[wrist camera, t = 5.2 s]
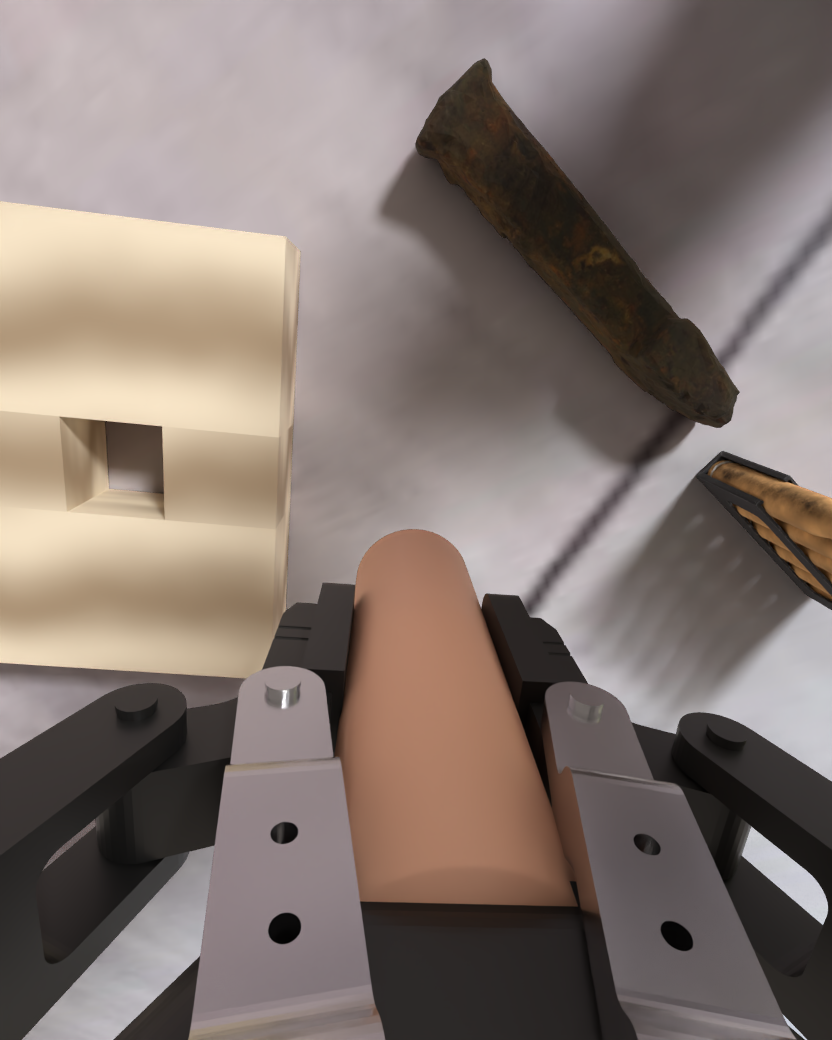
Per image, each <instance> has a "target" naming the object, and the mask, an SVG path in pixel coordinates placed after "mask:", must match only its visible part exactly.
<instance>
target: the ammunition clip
mask: <svg viewBox="0 0 832 1040" xmlns="http://www.w3.org/2000/svg"><path fill="white" fill-rule="evenodd" d="M696 477H697V478H698V479H699V480H700V481H701V482H702V483H703V484H704V485H705V487H706V488H707V489H708V490H709V491H710V492H711V493H712V494H713V495H714V496H715V497H716V498H717V499H718V501H719V502H720V503H721V504H722V505H723V506H724V507H725V508H726V509H727V510H728V511H729V512H730V513H731V514H732V516H733V517H734V518H735V519H736V520H737V521H738V522H739V523H740V524H741V525H742V526H743V527H744V528H745V529H746V531H747V532H748V533H749V534H750V535H751V536H752V537H753V538H754V539H755V540H756V541H757V542H758V543H759V545H760V546H761V547H762V548H763V549H764V550H765V551H766V552H767V553H768V554H769V555H770V556H771V557H772V558H773V560H774V561H775V562H776V563H777V564H778V565H779V566H780V567H781V568H782V569H783V570H784V571H785V572H786V574H787V575H788V576H789V577H790V578H791V579H792V580H793V581H794V582H795V583H796V584H797V585H798V586H799V587H800V589H801V590H802V591H803V592H804V593H805V594H806V595H807V596H809V597H811V598H812V599H814V600H816V601H817V602H819V603H821V604H822V605H824V606H826V607H827V608H829V609H831V610H832V498H829V497H827V496H824V495H821V494H819V493H816V492H813V491H810V490H808V489H805V488H802V487H800V486H798V485H797V483H796V482H795V481H794V480H793V479H792V478H791V477H790V476H789V475H786V474H783V473H781V472H778V471H775V470H773V469H770V468H767V467H765V466H762V465H759V464H757V463H754V462H751V461H748V460H746V459H743V458H740V457H738V456H735V455H732V454H730V453H727V452H724V451H722V452H721V453H720V454H719V455H717V456H716V457H715V458H714V459H713V460H712V461H711V462H710V463H709V464H708V465H707V466H706V467H705V468H704V469H702V470H701V471H700V472H699V473H698V474H697V476H696Z"/></svg>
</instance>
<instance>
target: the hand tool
mask: <svg viewBox="0 0 832 1040" xmlns="http://www.w3.org/2000/svg"><path fill="white" fill-rule="evenodd" d="M416 149H417V151H418V153H419V154H420V155H422V156H424V157H426V158H434V159H437V160H438V162H439V163H440V165H441V168H442V170H443V172H444V175H445V177H446V179H447V180H448V181H449V183H450V184H455V185H459V186H460V187H462V188H463V189H464V191H465V192H466V194H467V196H468V197H469V198H470V199H471V201H472V202H473V203H474V204H475V205H476V206H477V207H478V208H479V210H480V212H481V214H482V215H483V216H484V217H485V219H486V220H488V221H489V222H490V223H491V224H492V225H493V226H494V227H495V229H496V231H497V232H498V233H499V234H500V235H501V236H502V237H503V238H507V239H508V240H509V241H510V242H511V243H512V244H513V246H514V248H516V249H517V250H518V251H519V252H520V254H521V255H522V256H523V258H524V259H525V260H526V262H527V263H528V265H529V266H530V267H531V268H533V269H534V270H535V271H536V272H537V273H538V274H539V275H540V276H541V278H542V279H543V280H544V281H545V282H546V283H547V284H548V285H549V286H550V287H551V288H552V289H553V291H554V292H555V293H556V294H557V295H558V296H559V297H560V298H561V299H562V300H563V301H564V303H565V304H566V305H567V306H568V307H569V308H570V309H571V310H572V311H573V312H574V314H575V315H576V316H577V317H578V319H579V320H580V321H581V322H582V323H583V324H584V325H585V326H586V327H587V328H588V329H589V330H590V331H591V332H592V333H593V335H594V336H595V337H596V338H597V340H598V341H599V342H600V343H601V344H602V345H603V346H604V347H605V348H606V349H607V350H608V352H609V353H610V354H611V356H612V358H613V360H614V363H615V364H616V365H617V366H618V367H619V368H620V369H621V370H622V371H623V372H624V373H625V374H626V375H627V376H628V377H629V378H630V379H631V380H633V381H634V382H635V383H636V384H637V385H638V386H639V387H641V388H642V389H643V390H644V391H645V392H648V393H649V394H650V395H653V396H654V397H655V398H656V399H657V400H659V401H661V402H662V403H665V404H666V406H667V407H669V408H670V409H672V410H675V411H677V412H679V413H681V414H683V415H684V416H686V417H687V418H689V419H691V420H693V421H696V422H698V423H701V424H704V425H709V426H712V427H716V428H721V427H722V426H723V425H725V424H727V423H729V422H730V421H731V418H732V414H733V407H734V404H735V402H736V400H737V395H738V394H739V393H740V392H739V391H738V389H737V388H736V386H735V385H734V384H733V382H732V381H731V379H730V377H729V376H728V374H727V372H726V371H725V369H724V367H723V366H722V365H721V364H720V363H719V361H718V359H717V358H716V356H715V355H714V353H713V351H712V349H711V347H710V345H709V344H708V342H707V340H706V339H705V337H704V336H703V334H702V333H701V331H700V330H699V329H698V328H697V327H696V326H695V325H694V324H693V323H692V322H691V321H690V320H689V319H680V318H679V317H678V316H677V315H676V313H675V312H674V311H673V309H672V307H671V306H670V305H669V304H668V303H667V302H666V300H665V299H664V298H663V297H662V296H661V295H660V294H659V293H658V292H657V290H656V289H655V288H654V287H653V286H652V285H651V283H650V282H649V281H648V280H647V279H646V278H645V277H644V276H643V274H642V273H641V272H640V270H639V268H638V267H637V265H636V263H635V262H634V261H633V260H632V259H631V257H630V256H629V255H628V254H627V252H626V251H625V250H624V249H623V247H622V246H621V245H620V243H619V242H618V240H617V239H616V238H615V236H614V235H613V234H612V232H611V231H610V230H609V229H608V227H607V226H606V225H605V224H604V222H603V221H602V220H601V219H600V217H599V216H598V215H597V214H596V212H595V211H594V210H593V209H592V207H591V206H590V205H589V204H588V202H587V201H586V200H585V198H584V197H583V196H582V194H581V193H580V192H579V191H578V190H577V189H576V188H575V186H574V185H573V184H572V182H571V181H570V180H569V179H568V177H567V176H566V175H565V174H564V173H563V171H562V170H561V169H560V168H559V167H558V165H557V164H556V163H555V161H554V160H553V158H552V157H551V156H550V155H549V154H548V152H547V151H546V150H545V149H544V148H543V147H542V145H541V144H540V143H539V142H538V141H537V140H536V139H535V138H534V136H533V135H532V134H531V133H530V132H529V131H528V129H527V128H526V127H525V125H524V124H523V123H522V121H521V120H520V119H519V118H518V117H517V116H516V115H515V113H514V112H513V111H512V109H511V108H510V107H509V106H508V104H507V103H506V102H505V101H504V99H503V98H502V96H501V95H500V93H499V92H498V90H497V89H496V87H495V86H494V84H493V83H492V71H491V67H490V65H489V63H488V61H487V60H486V59H485V58H484V59H482V60H480V61H477V62H476V63H474V64H473V65H472V66H471V67H470V68H469V69H468V70H467V71H466V72H465V74H464V75H463V76H462V77H461V78H460V79H459V80H458V81H457V82H456V83H455V84H454V85H453V86H452V87H451V88H449V89H448V90H447V91H446V92H445V93H444V94H443V95H442V96H441V97H439V100H438V102H437V104H436V106H435V107H434V109H433V110H432V112H431V113H430V115H429V117H428V118H427V119H426V121H425V124H424V127H423V129H422V130H421V132H420V134H419V136H418V138H417V140H416Z"/></svg>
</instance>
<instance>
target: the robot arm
mask: <svg viewBox="0 0 832 1040" xmlns="http://www.w3.org/2000/svg"><path fill="white" fill-rule="evenodd" d="M354 602H355V585H351V584H335V583H323V584H322V588H321V592H320V596H319V600H318V604H311V603H296V604H294V605H293V606H292V607H290V608H289V609H288V610H286V611H285V612H284V613H283V615H282V617H281V620H280V623H279V625H278V628H277V631H276V633H275V636H274V639H273V641H272V644H271V647H270V649H269V652H268V655H267V657H266V660H265V663H264V665H263V668H262V670H261V671H258V672H256V673H254V674H252V675H250V676H249V677H248V678H247V679H246V680H245V681H244V682H243V683H242V685H241V686H240V689H239V695H238V697H237V698H235V699H233V700H230V701H227V702H224V703H220V704H215V705H209V706H203V707H196V708H190V709H187V705H186V699H185V696H184V695H183V694H182V692H180V691H179V690H178V689H176V688H174V687H171V686H168V685H164V684H156V683H146V684H136V685H131V686H126V687H123V688H120V689H117V690H114V691H112V692H110V693H108V694H106V695H104V696H102V697H101V698H99V699H97V700H96V701H94V702H92V703H91V704H89V705H87V706H86V707H84V708H83V709H81V710H79V711H78V712H76V713H74V714H73V715H71V716H69V717H68V718H66V719H64V720H63V721H61V722H60V723H58V724H56V725H55V726H53V727H51V728H50V729H48V730H46V731H45V732H43V733H42V734H40V735H38V736H37V737H35V738H33V739H32V740H30V741H28V742H27V743H25V744H24V745H22V746H20V747H19V748H17V749H15V750H14V751H12V752H10V753H9V754H7V755H6V756H4V757H2V758H1V759H0V1040H22V1039H23V1038H24V1037H25V1035H26V1034H27V1033H28V1032H29V1031H30V1030H31V1029H32V1028H33V1027H34V1026H35V1025H36V1024H37V1022H38V1021H39V1020H40V1019H41V1018H42V1017H43V1016H44V1015H45V1014H46V1013H47V1012H48V1011H49V1009H50V1008H51V1007H52V1006H53V1005H54V1004H55V1003H56V1002H57V1001H58V1000H59V999H60V998H61V996H62V995H63V994H64V993H65V992H66V991H67V990H68V989H69V988H70V987H71V986H72V985H73V983H74V982H75V981H76V980H77V979H78V978H79V977H80V976H81V975H82V974H83V973H84V972H85V970H86V969H87V968H88V967H89V966H90V965H91V964H92V963H93V962H94V961H95V960H96V959H97V957H98V956H99V955H100V954H101V953H102V952H103V951H104V950H105V949H106V948H107V947H108V946H109V944H110V943H111V942H112V941H113V940H114V939H115V938H116V937H117V936H118V935H119V934H120V933H121V931H122V930H123V929H124V928H125V927H126V926H127V925H128V924H129V923H130V922H131V921H132V920H133V918H134V917H135V916H136V915H137V914H138V913H139V912H140V911H141V910H142V909H143V908H144V907H145V905H146V904H147V903H148V902H149V901H150V900H151V899H152V898H153V897H154V896H155V895H156V894H157V892H158V891H159V890H160V889H161V888H162V887H163V886H164V885H165V884H166V883H167V882H168V881H169V879H170V878H171V877H172V876H173V875H174V874H175V873H176V872H177V871H178V870H179V868H180V867H181V866H182V865H183V863H184V862H185V860H186V858H187V857H188V854H189V851H193V850H197V849H201V848H205V847H209V846H214V845H215V847H214V855H213V862H212V870H211V878H210V885H209V893H208V900H207V908H206V916H205V923H204V931H203V939H202V946H201V954H200V957H199V958H197V959H196V960H195V961H194V962H193V963H192V964H191V965H190V966H189V967H188V968H187V969H186V970H185V971H184V972H183V973H182V974H181V975H180V976H179V977H178V978H177V979H176V980H175V981H174V982H173V983H172V984H171V985H170V986H169V987H167V988H166V989H165V990H164V991H163V992H162V993H161V994H160V995H159V996H158V997H157V998H156V999H155V1000H154V1001H153V1002H152V1003H151V1004H150V1005H149V1006H148V1007H147V1008H146V1009H145V1010H144V1011H143V1012H142V1013H141V1014H140V1015H139V1016H137V1017H136V1018H135V1019H134V1020H133V1021H132V1022H131V1023H130V1024H129V1025H128V1026H127V1027H126V1028H125V1029H124V1030H123V1031H122V1032H121V1033H120V1034H119V1035H118V1036H117V1037H116V1038H115V1039H114V1040H804V1039H803V1038H802V1037H801V1036H800V1035H799V1034H797V1033H796V1032H795V1031H794V1030H793V1029H792V1028H790V1027H789V1026H788V1025H787V1023H786V1021H785V1019H784V1017H783V1015H784V1016H785V1017H786V1018H787V1019H788V1020H789V1021H790V1022H791V1023H792V1024H793V1025H794V1026H795V1027H796V1028H797V1029H798V1030H799V1031H800V1032H801V1033H802V1034H803V1035H804V1037H805V1038H806V1039H807V1040H832V782H831V781H830V780H828V779H827V778H825V777H824V776H822V775H820V774H819V773H817V772H816V771H814V770H813V769H811V768H810V767H808V766H807V765H805V764H803V763H802V762H800V761H799V760H797V759H796V758H794V757H793V756H791V755H790V754H788V753H786V752H785V751H783V750H782V749H780V748H779V747H777V746H776V745H774V744H773V743H771V742H770V741H768V740H766V739H765V738H763V737H762V736H760V735H759V734H757V733H756V732H754V731H753V730H751V729H749V728H748V727H746V726H744V725H742V724H740V723H738V722H736V721H734V720H731V719H729V718H726V717H723V716H720V715H715V714H710V713H701V712H698V713H690V714H687V715H685V716H683V717H682V718H681V719H680V721H679V724H678V728H677V732H676V734H673V733H669V732H665V731H661V730H657V729H653V728H649V727H645V726H641V725H638V724H635V723H632V722H631V720H630V718H629V715H628V713H627V710H626V708H625V706H624V705H623V704H622V703H621V702H620V701H619V700H618V699H617V698H616V697H615V696H613V695H612V694H610V693H609V692H607V691H605V690H603V689H601V688H598V687H596V686H593V685H590V684H588V683H587V681H586V679H585V678H584V676H583V674H582V673H581V671H580V669H579V668H578V666H577V664H576V662H575V661H574V659H573V657H572V656H570V652H569V651H568V649H567V647H566V645H564V642H563V640H562V639H561V637H560V635H559V634H558V632H557V630H556V629H554V628H553V627H552V626H550V625H549V624H548V623H546V622H545V621H544V620H542V619H541V618H531V617H529V615H528V613H527V611H526V609H525V607H524V605H523V603H522V601H521V599H520V598H519V596H515V595H500V594H485V596H484V598H483V602H482V608H481V610H482V613H483V616H484V619H485V621H486V624H487V627H488V630H489V633H490V635H491V638H492V641H493V644H494V647H495V650H496V652H497V655H498V658H499V661H500V664H501V666H502V669H503V672H504V675H505V678H506V681H507V683H508V686H509V689H510V692H511V695H512V697H513V700H514V703H515V706H516V709H517V712H518V714H519V717H520V720H521V723H522V726H523V729H524V731H525V734H526V737H527V740H528V743H529V745H530V748H531V751H532V754H533V757H534V760H535V762H536V765H537V768H538V771H539V774H540V776H541V779H542V782H543V785H544V788H545V791H546V793H547V796H548V799H549V802H550V805H551V807H552V811H553V815H554V819H555V823H556V826H557V830H558V834H559V837H560V841H561V845H562V849H563V854H564V858H565V859H566V860H567V861H568V863H569V864H570V866H571V867H572V869H573V871H574V873H575V877H576V881H570V884H571V887H572V890H573V893H574V896H575V899H576V902H577V904H578V907H575V906H533V905H490V904H448V903H406V902H364V901H360V898H359V890H358V883H357V876H356V868H355V861H354V853H353V846H352V839H351V831H350V824H349V817H348V809H347V802H346V795H345V787H344V780H343V773H342V766H341V760H340V757H339V756H337V757H334V756H335V747H336V739H337V731H338V724H339V719H340V716H341V713H342V707H343V698H344V690H345V681H346V673H347V664H348V656H349V647H350V639H351V630H352V622H353V613H354ZM94 819H95V822H96V826H95V827H94V828H93V829H92V830H91V831H90V832H88V833H87V834H86V835H85V836H84V837H82V838H81V839H80V840H79V841H78V842H76V843H75V844H74V845H73V846H72V847H71V848H69V849H68V850H67V851H66V852H65V853H63V854H62V855H61V856H60V857H59V858H57V859H56V860H55V861H54V862H53V863H51V864H50V865H49V866H48V867H47V868H46V869H44V870H43V868H44V867H45V865H46V864H47V862H48V861H49V859H50V858H51V857H52V855H53V854H54V853H55V852H56V851H57V850H58V849H59V848H60V847H62V846H63V845H64V844H65V843H66V842H68V841H69V840H70V839H71V838H72V837H74V836H75V835H76V834H77V833H78V832H80V831H81V830H82V829H83V828H85V827H86V826H87V825H88V824H89V823H91V822H92V821H93V820H94ZM751 826H752V827H753V828H754V829H755V830H757V831H758V832H759V833H760V834H762V835H763V836H764V837H765V838H767V839H768V840H769V841H770V842H772V843H773V844H774V845H775V846H777V847H778V848H779V849H780V850H782V851H783V852H784V853H785V854H787V855H788V856H789V857H790V858H792V859H793V860H794V861H795V862H797V863H798V864H799V865H800V866H802V867H803V868H804V869H805V870H807V871H808V872H809V873H810V874H811V875H812V876H813V877H814V878H815V879H816V880H817V882H818V883H819V884H820V886H821V888H822V889H823V891H824V893H825V895H826V898H827V902H828V914H827V917H826V919H825V922H824V924H823V925H822V924H821V923H819V922H818V921H817V920H816V919H815V918H814V917H812V916H811V915H810V914H809V913H808V912H807V911H805V910H804V909H803V908H802V907H801V906H800V905H798V904H797V903H796V902H795V901H794V900H793V899H791V898H790V897H789V896H788V895H787V894H786V893H784V892H783V891H782V890H781V889H780V888H779V887H777V886H776V885H775V884H774V883H773V882H772V881H770V880H769V879H768V878H767V877H766V876H765V875H763V874H762V873H761V872H760V871H759V870H758V869H756V868H755V867H754V866H753V865H752V864H751V863H749V862H748V861H747V860H746V859H745V858H744V857H742V856H741V855H742V852H743V849H744V846H745V843H746V840H747V837H748V834H749V831H750V828H751ZM42 870H43V871H42ZM782 1014H783V1015H782Z"/></svg>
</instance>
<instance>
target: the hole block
mask: <svg viewBox="0 0 832 1040" xmlns="http://www.w3.org/2000/svg"><path fill="white" fill-rule="evenodd" d="M300 252H301V251H300V250H299V249H298V248H297V247H296V246H295V245H294V244H293V243H292V242H291V241H290V240H289V239H288V238H287V237H284V236H276V235H268V234H260V233H251V232H243V231H235V230H227V229H219V228H211V227H203V226H195V225H187V224H179V223H171V222H163V221H154V220H146V219H138V218H130V217H122V216H114V215H106V214H98V213H90V212H82V211H74V210H66V209H57V208H49V207H41V206H33V205H25V204H17V203H9V202H1V201H0V663H11V664H27V665H43V666H59V667H74V668H90V669H106V670H122V671H138V672H154V673H169V674H185V675H201V676H217V677H233V678H248V677H249V676H250V675H252V674H254V673H256V672H258V671H261V670H262V668H263V665H264V663H265V660H266V657H267V655H268V652H269V649H270V647H271V644H272V641H273V639H274V636H275V633H276V631H277V628H278V625H279V623H280V620H281V617H282V615H283V613H284V612H285V611H286V590H287V566H288V542H289V517H290V493H291V469H292V445H293V421H294V397H295V373H296V349H297V325H298V301H299V277H300ZM105 421H112V422H123V423H133V424H143V425H154V426H162V438H163V474H164V494H162V493H150V492H139V491H127V490H116V489H109V480H108V463H107V446H106V428H105Z"/></svg>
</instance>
